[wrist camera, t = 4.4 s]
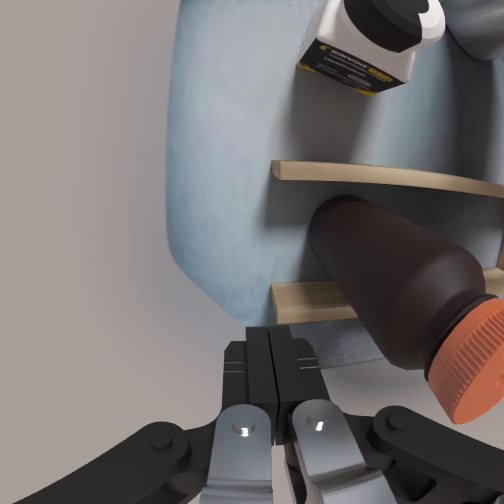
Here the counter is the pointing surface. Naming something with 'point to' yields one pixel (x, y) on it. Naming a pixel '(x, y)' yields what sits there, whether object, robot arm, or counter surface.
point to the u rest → (327, 292)
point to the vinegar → (417, 300)
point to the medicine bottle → (370, 40)
